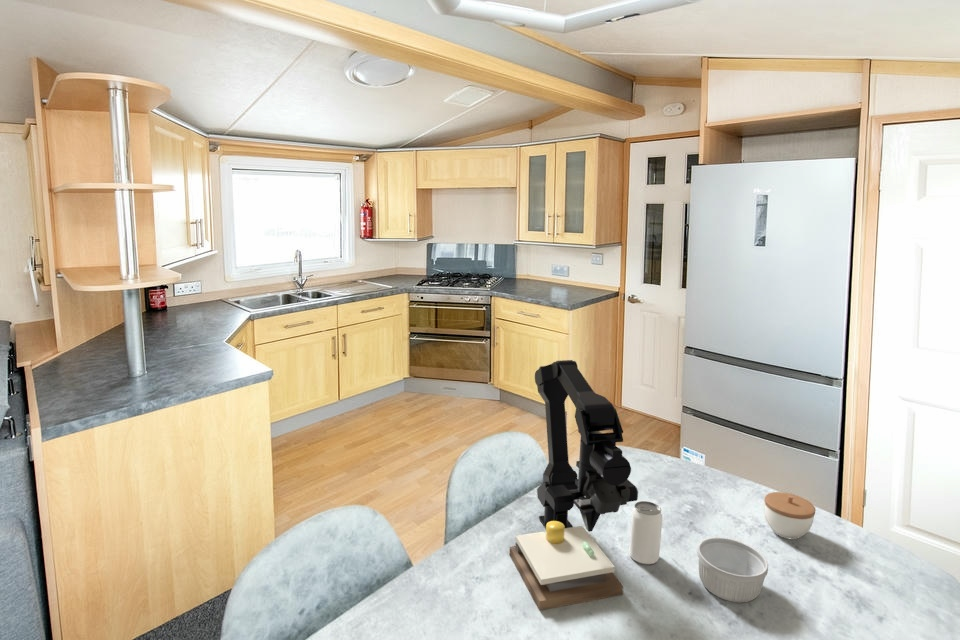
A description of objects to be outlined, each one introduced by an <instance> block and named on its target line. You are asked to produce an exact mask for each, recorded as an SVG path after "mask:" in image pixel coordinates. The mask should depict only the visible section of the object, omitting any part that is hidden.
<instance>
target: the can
mask: <svg viewBox="0 0 960 640" xmlns="http://www.w3.org/2000/svg"><path fill="white" fill-rule="evenodd" d="M662 526H663V514H662V508H661V507H660V506H659V505H658V504H657V503H654V502H652V501H647V500H646V501H645V500H644V501H643V500H641V501H638V502H637V501H636V502H635V504H634V508H633V509H632V510H631V521H630V532H629V533H630V535H629V545H628V548H629V549H628V554H629V556H630V557H631V559H632V560H633V561H635V562H636V563H638V564H641V565H647V566H648V565H654V564H655V563H657V562H658V561H659V559H660V552H661V551H660V549H661V539H662V529H663V527H662Z"/></svg>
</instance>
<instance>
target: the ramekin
mask: <svg viewBox="0 0 960 640" xmlns="http://www.w3.org/2000/svg"><path fill="white" fill-rule="evenodd" d="M697 557H698V575H699V576H698V577H699V579H700V582H701V583H702V585H703V586H704V587H705V588H706V589H707V591H709V592H710V593H711V594H713V595H714V596H716V597H718V598H720V599H722V600H724V601H728V602H734V603H749V602H751V601H753V600H755V599H756V598H758V597H759V595H760V593H761V591H762V589H763V585H764V582H765V578H766V576H767V575H768V571H769V563H768V561H767V559H766V557H765V556H764V555H763V554H762V553H761V552H760V551H758V550H757V549H756V548H754V547H752V546H750V545H749V544H746V543H744V542H742V541H739V540H735V539H732V538H728V537H727V538H726V537H710V538H705V539H704V540H702V541H701V542H700V543H699V544H698V547H697Z"/></svg>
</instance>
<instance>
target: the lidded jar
mask: <svg viewBox="0 0 960 640" xmlns="http://www.w3.org/2000/svg"><path fill="white" fill-rule="evenodd" d="M763 507H764V508H763V514H764V518H765V521H766V524H767V525H768V526H769V528H770V529H771V531H772V530H773V531H772V532H773V534H775V533H776V534H775V535H777V534H778V535H779V537H780V536H782V537H781V538H783V537H785V538H784V539H786V538H791V539H790V540H796V539H795V538H798V537H799V538H800V537H802V536H805V535H806V534H808V532H809V531H810V530H811V527H812V525H813V523H814V520H815V518H814V517H815V515H816V510H817V509H816V507H815V505H814V504H813V503H812V502H810V501H809V500H807V499H806V498H804V497H801V496H799V495H796V494H793V493H789V492H783V491H776V492H775V491H773V492H769V493H767V494H766V495H764V506H763ZM778 535H777V536H778ZM799 538H798V539H799Z"/></svg>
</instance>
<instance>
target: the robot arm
mask: <svg viewBox="0 0 960 640" xmlns="http://www.w3.org/2000/svg"><path fill="white" fill-rule="evenodd" d="M534 383H535V385H536V386H537V387H536V388H537V392H538V395H540V397H541V399H542V400H543V401H544V406H545V419H546V421H545V423H546V436H547V437H546V439H547V440H546V441H547V452H548V464H547V466H546V467H545V469H544V472H543V473H542V483H540V485H539V486H538V487H537V488H536V493H537V494H536V496H537V499H538V500H539V502H540V504H541V505H542V507H543V508H544V513H543V515H539V516H538V519H539V521H540V523H542V526H544V528H545V529H546V524H547V523H548V522H550V521H558V522H561V523H563V524H564V526H565V528H571V527H574V526H573V524H572V523H571V522H570V520H569V519H568V515H569V511H571V509H572V508H573V507H574V506H575V507H577V509H578V510H579V512H580V515H581V517H582V520H583V523H584V526H585V530H586V531H587V532H588V533H591V532H593V530H594V529H595V526H596V524H597V522H598V520H599V519H600V517H601V515H605V514H609V513H617V512H619V509H620V507H621V506H625V505H627V503H630V502H637V501H638V498H639V489H638V488H637V486H636V485H635V484H634V483H632V482H631V481H630V480H629V478H630V475H631V472H632V466H631V464H630V462H629V460H628V459H627V458H626V457H625V456H624V455H623V450H622V449H621V448H620V447H618V446H617V443H623V442H624V437H623V433H624V430H623V427H622V424H621V420H620V418H619V415H618V412H617V409H616V408H615V406H614V405H613V403H612V402H611V401H609V400H608V399H607V398H606V397H605V396H604V395H600V394H598V393H596V392H595V390H594V389H593V388H592V387H591V385H590V384H589V382H588V381H587V380H586V378H585V377H584V375H583V374H582V373H581V371H580V369H579V367H578V364H577V361H576V360H573V359H566V360H563V359H562V360H556V361H553V362H552V363H550V364H546V365H541V366H539V368H537V370H536V371H535V373H534ZM568 397H569V399H570V400H571V401H572V403H573V405H574V407H575V412H574V418H575V423H576V426H577V432H578V433H579V434H580V441H579V460H576V463H575V464H576V467H577V468H578V474H577V472H576V470H574V469H573V467H572V466H571V464H570V461H569V449H568V448H569V447H568V445H569V444H568V433H567V419H566V418H567V417H566V415H567V414H566V404H565V403H566V401H567V398H568ZM603 431H605V432H603ZM606 431H612V432H606Z"/></svg>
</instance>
